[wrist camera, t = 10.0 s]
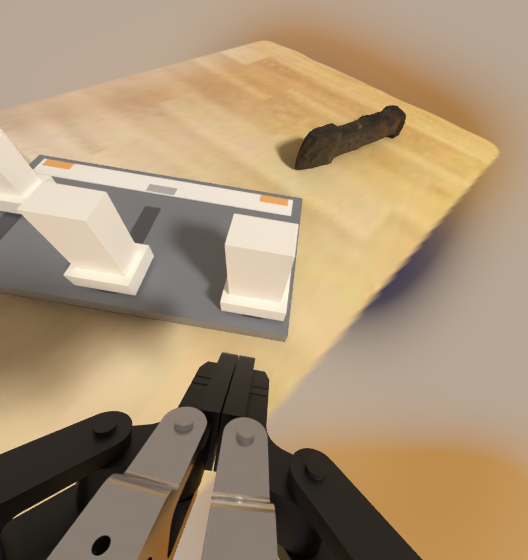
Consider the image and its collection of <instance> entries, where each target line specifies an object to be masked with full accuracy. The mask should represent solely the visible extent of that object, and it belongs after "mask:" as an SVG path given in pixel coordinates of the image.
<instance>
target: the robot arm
mask: <svg viewBox="0 0 528 560" xmlns="http://www.w3.org/2000/svg"><path fill="white" fill-rule="evenodd" d="M254 362H255V358H252V357H246V356H241V355H239V358H238V355H235V354H229V353H224V352H222V354H221V356H220V358H219V361H218V363H214V362H206V363H205V364H204V365H202V366H201V367H200V368H199V369H198V371H197V373H196V375H195V377H194V379H193V381H192V383H191V384H190V386H189V388H188V390H187V392H186V393H185V395H184V397H183V399H182V401H181V403H180V404H179V406H178V408H176V409H174V410H172V411H170V412H168V413H167V414H166V415H165V416H164V417H163V419H162V420H161V422H159V423H155V424H149V425H137V426H132V420H131V418H130V417H129V416H128V415H127V414H125V413H123V412H119V411H109V412H104V413H100V414H98V415H95V416H93V417H90V418H88V419H85V420H83V421H80V422H78V423H75V424H73V425H71V426H68V427H66V428H63V429H61V430H58V431H56V432H54V433H51V434H49V435H46V436H44V437H41V438H39V439H36V440H34V441H32V442H29V443H27V444H24V445H22V446H19V447H17V448H15V449H12V450H10V451H7V452H5V453H2V454H0V560H173V557H174V554H175V552H176V549H177V546H178V544H179V541H180V538H181V536H182V533H183V530H184V528H185V525H186V522H187V520H188V517H189V514H190V512H191V509H192V507H193V504H194V501H195V499H196V496H197V492H198V487H199V485H200V482H201V479H202V476H203V473H204V470H209V471H212V467H213V463H214V460H215V464H214V471H215V472H216V477H215V483H214V489H213V496H212V500H211V505H210V510H209V517H208V523H207V528H206V534H205V539H204V545H203V551H202V557H201V560H278V557H279V559H280V560H422V559H421V558H420V557H419V556H418V555H417V553H416V552H415V551H414V550H412V548H411V547H410V546H409V545H408V544H407V543H406V541H405V540H404V539H403V538H402V537H401V536H400V535H399V534H398V533H397V532H396V531H395V529H394V528H393V527H392V526H391V525H390V524H389V523H388V522H387V521H386V520H385V519H384V518H383V516H382V515H381V514H380V513H379V512H378V511H377V510H376V509H375V508H374V506H373V505H371V503H370V502H369V501H368V500H367V499H366V498H365V497H364V496H363V494H361V492H360V491H359V490H358V489H357V488H356V487H355V486H354V485H353V483H352V482H351V481H350V480H349V479H348V478H347V477H346V476H345V475H344V474H343V473H342V471H341V470H340V469H339V468H338V467H337V466H336V465H335V464H334V463H333V462H332V461H331V460H330V459H329V458H328V457H327V456H326V455H325V454H323V453H322V452H320V451H317V450H314V449H310V448H305V449H300V450H298V451H297V452H295V453H294V455H292V454H290V453H288V452H286V451H285V450H283V449H281V448H279V447H278V446H277V445H276V444H274V443H273V441H272V440H271V439H270V437H269V436H268V433H267V429H266V422H267V407H268V391H269V379H268V377H267V375H266V373H265V372H263V371H258V370H253V368H254ZM215 456H216V458H215ZM75 482H76V484H75V485H73V486H72V487H70V488H68V489H66V490H64V491H63V492H61V493H59V494H57V495H56V496H54V497H52V498H50V499H48V500H47V501H45V502H43V503H41V504H39V505H38V506H36V507H34V508H32V509H30V510H29V511H27V512H25V513H23V514H21V515H20V516H18V517H16V518H14V517H15V516H16V515H18V514H19V513H21V512H22V511H24V510H26V509H28V508H30V507H31V506H33V505H35V504H37V503H39V502H40V501H42V500H44V499H46V498H48V497H49V496H51V495H53V494H55V493H57V492H59V491H60V490H62V489H64V488H66V487H68V486H69V485H71V484H73V483H75ZM12 518H14V519H12Z"/></svg>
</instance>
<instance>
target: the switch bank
mask: <svg viewBox="0 0 528 560" xmlns="http://www.w3.org/2000/svg"><path fill="white" fill-rule="evenodd" d="M29 165H30V167H31V168H32V169H33V171H34V172H35V173H37V174H43V175H49V176H51V177H52V178H53V180H54V181H55V182H56V183H57V184H63V185H69V186H75V187H80V188H86V189H92V190H98V191H104V192H107V194H108V196H109V198H110V199H111V201H112V203H113V205H114V207H115V208H116V210H117V212H118V214H119V216H120V217H121V219H122V221H123V223H124V225H125V226H126V228H127V230H128V232H129V234H130V235H131V237H132V239H133V241H134V243H139V244H144V245H149V247H150V249H151V251H152V253H153V255H154V257H153V259H152V261H151V264H150V266H149V268H148V270H147V272H146V274H145V276H144V278H143V280H142V283H141V285H140V287H139V289H138V291H137V293H136V295H129V294H123V293H118V292H112V291H106V290H100V289H94V288H89V287H83V286H77V285H74V284H73V283H72V282H70V281H69V280H68V279H67V278H66V277H65V276H64V273H65V272H66V270H67V269H68V267H69V266H70V264H71V263H70V262H69V261H68V260H67V259H66V258H65V257H64V256H63V255H62V254H61V253H60V252H59V251H58V250H57V249H56V248H55V247H54V246H53V245H52V244H51V243H50V242H49V241H48V240H47V239H46V238H45V237H44V236H43V235H42V234H41V233H40V232H39V231H38V230H37V229H36V228H35V227H34V226H33V225H32V224H31V223H30V222H29V221H28V220H27V219H26V218H25V217H24V216H23V215H22V214H16V213H10V212H4V211H0V292H2V293H7V294H13V295H19V296H24V297H30V298H36V299H42V300H47V301H53V302H59V303H65V304H70V305H76V306H82V307H88V308H93V309H99V310H105V311H110V312H116V313H122V314H128V315H133V316H139V317H145V318H151V319H156V320H162V321H168V322H174V323H179V324H185V325H191V326H197V327H202V328H208V329H214V330H219V331H225V332H231V333H237V334H242V335H248V336H254V337H260V338H265V339H271V340H277V341H283V342H285V340H286V338H287V336H288V327H289V318H290V308H291V299H292V290H293V280H294V271H295V262H296V253H297V243H298V234H299V225H300V216H301V206H302V198H296V197H290V196H284V195H278V194H272V193H266V192H260V191H254V190H248V189H242V188H236V187H230V186H224V185H218V184H212V183H206V182H200V181H194V180H188V179H182V178H176V177H170V176H164V175H158V174H152V173H146V172H140V171H134V170H128V169H122V168H116V167H110V166H104V165H98V164H92V163H86V162H80V161H74V160H68V159H62V158H56V157H50V156H44V155H39V156H38V157H37V158H36V159H35V160H33V161H32V162H31V163H30V164H29ZM234 213H235V214H241V215H247V216H253V217H259V218H265V219H271V220H277V221H283V222H289V223H295V224H299V225H298V234H297V243H296V252H295V258H294V262H293V265H292V268H291V277H290V285H289V294H288V303H287V311H286V316H285V318H284V321H279V320H273V319H268V318H262V317H256V316H250V315H244V314H239V313H233V312H227V311H221V305H220V301H221V297H222V293H223V290H224V286H225V282H226V279H227V266H226V255H225V242H226V239H227V235H228V232H229V229H230V225H231V222H232V219H233V215H234Z"/></svg>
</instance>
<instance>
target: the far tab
mask: <svg viewBox="0 0 528 560" xmlns="http://www.w3.org/2000/svg"><path fill="white" fill-rule="evenodd" d="M43 181H45V182H51V183H56V182H55V181H54V180H53V178H52V177H51V176H49V175H43V174H37V173H35V172H34V171H33V169H32V168H31V167H30V165H29V164H28V163H27V162H26V160H25V159H24V158H23V157H22V155H21V154H20V153H19V151H18V150H17V149H16V148H15V146H14V145H13V144H12V143H11V141H10V140H9V139H8V138H7V136H6V135H5V134H4V132H3V131H2V130H1V129H0V211H4V212H10V213H16V214H21V213H20V212H19V211H18V210H17V208H18V207H19V206H20V205H21V204H22V203H23V202H24V201H25V200H26V199H27V198H28V197H29V196H30V195H31V193H32V192H33V191H34V190H35V189H36V188H37V187H38V186H39V185H40V184H41V183H42V182H43Z"/></svg>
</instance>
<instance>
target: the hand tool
mask: <svg viewBox="0 0 528 560" xmlns="http://www.w3.org/2000/svg"><path fill="white" fill-rule="evenodd" d="M405 119H406V115H405V113H404V112H403V111H402V110H401V109H400V108H399V107H398V106H394V105H392V106H386V107H385V108H384V109H383V110H382V111H381V112H377V113H375V114H371V115H365V116H362V117H360V119H358V120H356V121H353V122H351V123H348V124H345V125H342V126H339V127H338V126H336V125H334V124H333V123H331V124H327V125H325V126H322V127H318V128H315V129H313V130H312V131H310V132H309V134H308V135H307V136H306V137H305V139H304V141H303V143H302V146H301V148H300V150H299V152H298V156H297V159H296V164H295V169H300V170H301V169H308V168H314V167H318V166H321V165H326V164H330V163H331V162H332V160H333V159H334V158H335V157H337V156H339V155H341V154H343V153H347V152H349V151H352V150H356V149H358V148H359V147H361V146H364V145H366V144H369V143H372V142H375V141H378V140H379V139H382V138H384V137H386V136H389V137H390V138H394V137H396V136H398V135H399V133H400V131H401V130H402V128H403V126H404V124H405Z"/></svg>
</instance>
